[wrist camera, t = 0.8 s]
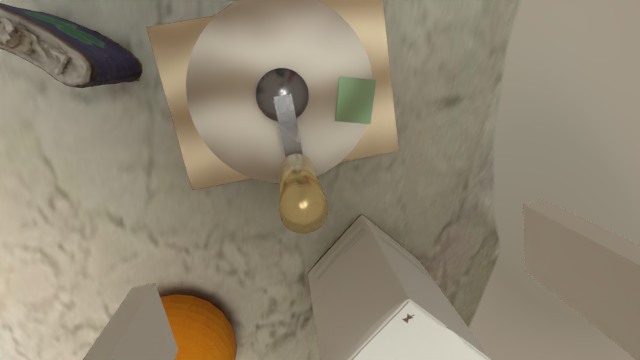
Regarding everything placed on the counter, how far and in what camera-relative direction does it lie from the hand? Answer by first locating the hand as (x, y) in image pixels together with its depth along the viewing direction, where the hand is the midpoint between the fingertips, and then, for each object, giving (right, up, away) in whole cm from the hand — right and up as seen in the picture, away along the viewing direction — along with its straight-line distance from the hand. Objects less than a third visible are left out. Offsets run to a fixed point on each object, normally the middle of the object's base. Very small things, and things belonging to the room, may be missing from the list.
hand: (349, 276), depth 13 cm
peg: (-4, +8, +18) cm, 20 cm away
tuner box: (-5, +11, +21) cm, 24 cm away
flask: (-20, +15, +19) cm, 31 cm away
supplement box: (+4, -6, +27) cm, 28 cm away
